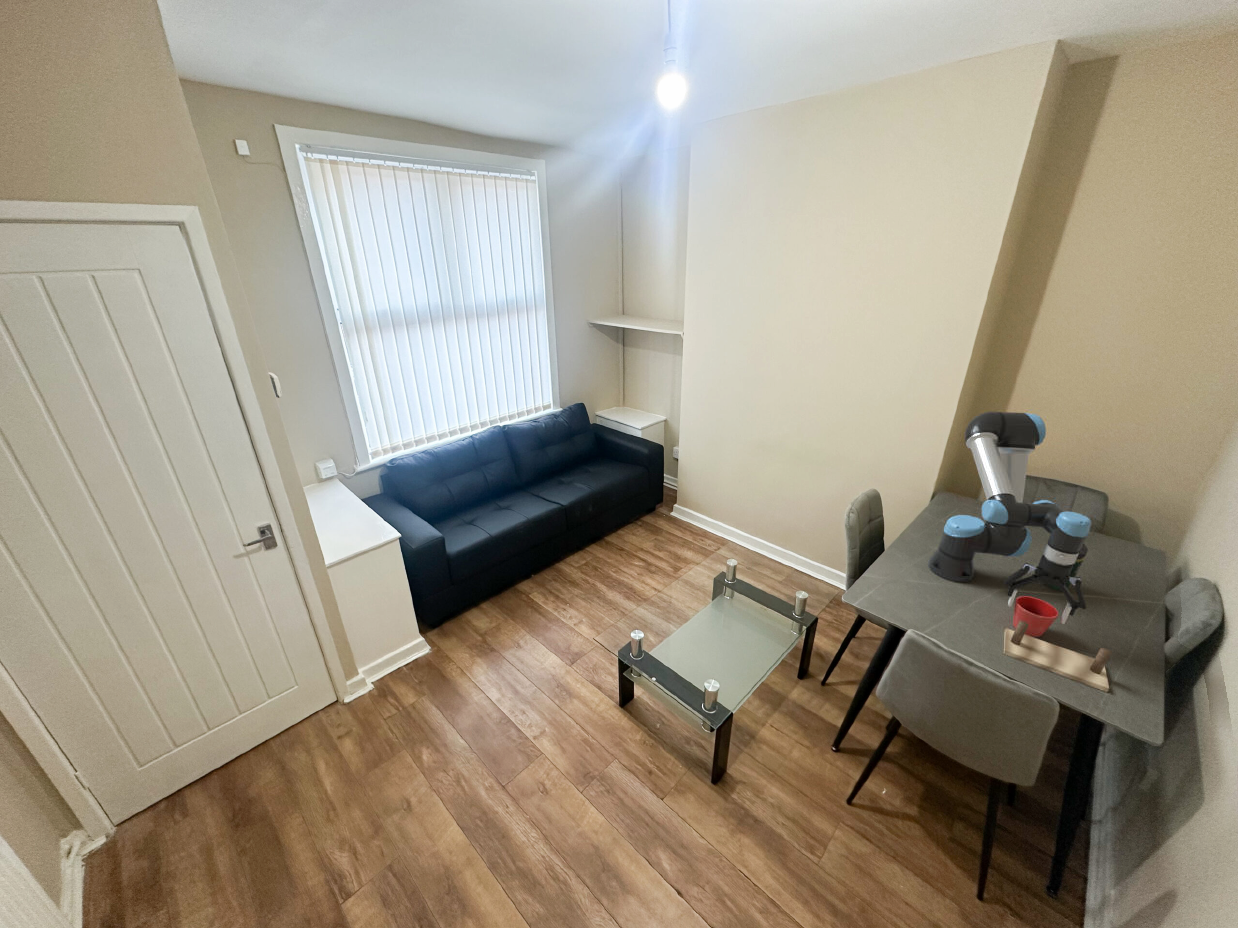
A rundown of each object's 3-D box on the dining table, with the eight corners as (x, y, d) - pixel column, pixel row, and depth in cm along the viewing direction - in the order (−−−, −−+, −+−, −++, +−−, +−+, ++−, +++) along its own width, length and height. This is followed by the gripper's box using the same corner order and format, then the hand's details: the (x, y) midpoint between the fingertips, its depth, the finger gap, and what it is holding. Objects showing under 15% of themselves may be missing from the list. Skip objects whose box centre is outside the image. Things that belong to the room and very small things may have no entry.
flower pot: (1007, 612, 166) (1016, 591, 162) (1047, 626, 160) (1058, 604, 156) (1005, 630, 159) (1015, 608, 155) (1048, 645, 152) (1059, 622, 148)
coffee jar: (1064, 595, 174) (1084, 553, 166) (1038, 583, 180) (1056, 543, 172) (1073, 585, 179) (1092, 544, 171) (1047, 574, 185) (1064, 534, 177)
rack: (1003, 653, 150) (1013, 631, 146) (1004, 631, 158) (1013, 609, 154) (1107, 692, 136) (1121, 668, 132) (1101, 665, 145) (1114, 642, 141)
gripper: (1008, 551, 152) (988, 603, 160) (1115, 579, 138) (1087, 635, 146) (1008, 541, 157) (989, 592, 166) (1111, 567, 143) (1084, 621, 151)
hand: (1035, 612), depth 156 cm, fingers open, 13 cm apart
